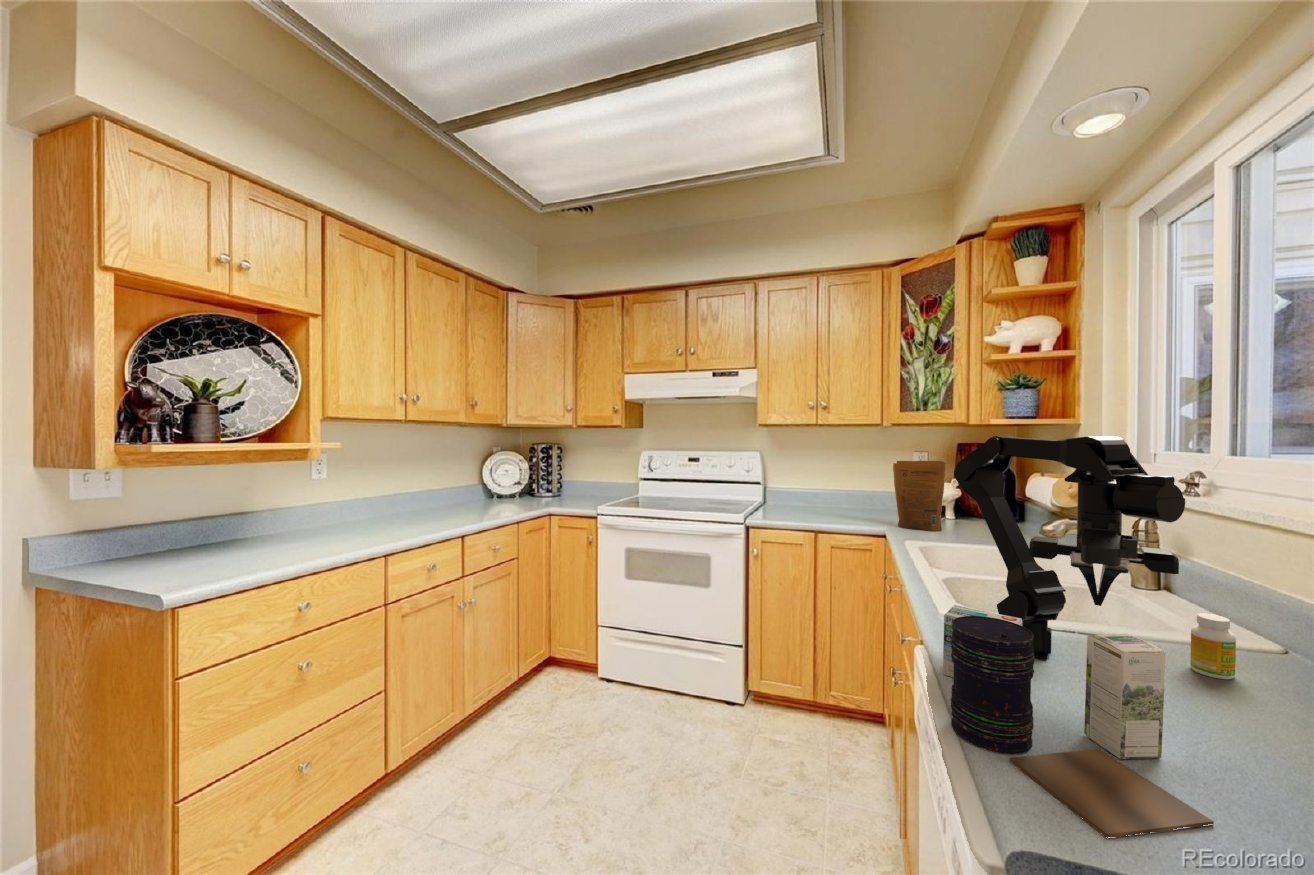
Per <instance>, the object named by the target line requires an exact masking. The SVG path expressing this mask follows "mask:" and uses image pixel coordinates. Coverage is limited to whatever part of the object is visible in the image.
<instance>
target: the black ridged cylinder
mask: <svg viewBox="0 0 1314 875" xmlns="http://www.w3.org/2000/svg"><path fill="white" fill-rule="evenodd" d="M952 629H953V631H952V639H951V648H952V653H951V657H952V662H953V663H954V677H953V684H952V686H951V692H950V693H951V696H950V710H951V717H952V718H951V723H950V725H951V729H952V731H953V732H954V733H955V734H956V735H957V736H958V737H959V738H960V739H961V740H963V741H965V742H966V743H968V744H970V745H971V746H974V747H976V748H978V749H981V750H984V751H987V752H991V753H994V754H998V755H1005V756H1006V755H1007V756H1017V755H1018V756H1019V755H1024V754H1026V753H1028V752H1029V751H1031V750H1032V748H1033V739H1032V735H1033V730H1034V723H1035V722H1034V721H1035V720H1034V706H1033V703H1032V701H1031V699H1032V693H1031V692H1032V689H1031V688H1032V679H1033V678H1034V673H1035V670H1034V665H1035V657H1034V653H1033V633H1032V632H1031V631H1030V630H1028V629H1027V628H1025V627H1023V626H1020V625H1018V624H1015V623H1012V622H1009V621H1005V620H1001V619H997V618H991V617H983V616H963V617H958V618H956V619H954V620H953V621H952Z"/></svg>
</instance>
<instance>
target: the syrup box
mask: <svg viewBox="0 0 1314 875" xmlns="http://www.w3.org/2000/svg"><path fill="white" fill-rule="evenodd" d="M1086 636H1087V637H1086V638H1087V640H1086V641H1087V642H1086V666H1085V667H1086V671H1085V698H1084V699H1085V702H1084V705H1085V706H1084V727H1083V733H1084V735H1085V736H1086V737H1087V738H1089V739H1090V740H1092V741H1093V742H1094V743H1096V744H1097V745H1098V746H1100V747H1102V748H1103V749H1104V750H1106V751H1107V752H1109V753H1111V754H1112V755H1113V756H1115V757H1116V758H1117V759H1119V760H1135V759H1136V760H1139V759H1144V760H1145V759H1161V758H1162V753H1163V752H1162V751H1163V732H1164V731H1163V725H1164V704H1165V701H1164V700H1165V682H1166V681H1165V680H1166V679H1165V677H1166V676H1165V675H1166V656H1167V653H1166V652H1165V650H1163V649H1161V648H1160V647H1158V646H1156V645H1154V644H1152V643H1150V642H1148V641H1147V640H1144V639H1142V638H1139V637H1137V636H1134V635H1132V634H1128V633H1110V634H1109V633H1108V634H1107V633H1106V634H1105V633H1103V634H1088V635H1086Z"/></svg>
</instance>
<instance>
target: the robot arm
mask: <svg viewBox="0 0 1314 875" xmlns="http://www.w3.org/2000/svg"><path fill="white" fill-rule="evenodd" d="M1014 457H1015V458H1024V459H1025V458H1026V459H1036V460H1042V461H1043V460H1044V461H1051V462H1052V461H1054V462H1057V463H1060V464H1062V465H1064V466H1066V467H1068V468H1073V469H1074V470H1073V472H1072V473H1070V474H1069V475H1067V476H1066V477H1064V480H1063V481H1064V482H1066V483H1076V484H1077V508H1076V509H1077V511H1076V516H1077V517H1076V545H1074V544H1065V543H1059V538H1058V537H1057V538H1056V537H1048V536H1046V537H1045V536H1037V535H1035V536H1033V537H1031V538H1030V541H1029V545H1028V543H1027V541H1026V538H1025V537H1024V534H1023V533H1022V531H1021V527H1020V526H1019V525H1018V523H1017V520H1016V518H1015V516H1014V514H1013V511H1012V510H1011V508H1010V506H1009V504H1008V502H1007V500H1006V498H1005V495H1004V492H1005V484H1006V480H1005V476H1004V473H1006V471H1007V470H1009V468H1010V467H1011V465H1012V462H1013V458H1014ZM953 474H954V475H953V476H954V478H955V481H956V482H957V484H958V485H959V487H960V488H961V490H962V491H963V492H964V494H966V495H967V496H968V497H969V498H971V499H972V500H974V502H976V504H977V505H978V507H979V510H980V512H981V514H982V516H983V519H984V521H985V523H986V525H987V527H988V529H989V532H990V534H991V536H992V539H993V542H994V543H995V545H996V547H997V550H998V551H999V554H1000V557H1001V558H1002V560H1003V562H1004V565H1005V566H1006V567H1005V568H1006V569H1007V575H1006V582H1005V587H1006V591H1007V594H1008V595H1007V596H1006V597H1005V598H1004V599H1002V600H1001V601H999V602H998V603H997V604H996V609H997V612H998V613H997V614H1001V615H1006V616H1011V617H1016V618H1021V619H1022V626H1023V627H1025V628H1027V629H1028V630H1030V631H1031V632H1032V633H1033V653H1034V658H1037V659H1040V660H1046V661H1047V660H1048V659H1049V657H1048V656H1049V655H1051V654H1052V638H1053V637H1052V631H1053V630H1052V628H1051V627H1049V621H1056V620H1057V619H1058V616H1059V615H1060V613H1061V612H1062V611H1063V609H1064V607H1065V604H1066V603H1067V601H1066V596H1065V593H1066V589H1065V588H1064V587H1063V585H1062V584H1061V582H1060V580H1059V577H1058V575H1057V573H1056V571H1055V570H1054V569H1046V570H1045V569H1044V568H1043V567H1041V566H1040V565H1039V564H1038V562H1037V561H1036V560H1035V558H1036V559H1044V560H1053V559H1055V558H1056V557H1057V556H1058V555H1059V556H1069V558H1070V567H1073V568H1078V570H1079V571H1080V573H1081V575H1082V576H1083V578H1084V580H1085V582H1086V584H1087V587H1088V590H1089V593H1090V596H1091V598H1092V601H1093V603H1094V606H1099V607H1102V605H1103V602H1104V600H1105V598H1106V597H1107V594H1108V592H1109V590H1110V588H1111V586H1112V584H1113V583H1114V581H1115V579H1116V578H1117V577H1118V576H1119V575H1120V574H1129V572H1130V570H1129V567H1128V566H1129V565H1130V564H1138V565H1144V567H1145V568H1147V569H1148V570H1149V571H1150V572H1151V573H1152V572H1153V573H1162V574H1170V575H1179V574H1180V573H1179V572H1180V568H1179V567H1180V563H1179V562H1180V561H1179V558H1178V557H1177V555H1176V554H1175V553H1174V552H1173V551H1172V550H1171V549H1168V548H1167V549H1165V548H1155V547H1146V546H1141V547H1140V551H1139V550H1138V545H1139V543H1138V542H1139V541H1138V536H1137V535H1130V534H1129V535H1127V534H1123V533H1122V530H1123V529H1122V526H1123V515H1124V516H1126V517H1131V518H1138V519H1146V520H1151V521H1159V522H1162V523H1163V522H1165V523H1169V524H1170V523H1174V522H1176V521H1178V520H1179V519H1180V517H1182V515H1183V513H1184V511H1185V507H1186V498H1185V497H1184V495H1183V492H1182V491H1181V489H1180V487H1178V486H1177V484H1175V477H1174V476H1171V475H1149V473H1147V472H1146V470H1145V468H1144V467H1143V466H1142V465H1141V464H1140V462H1139V461H1138V459H1137V458H1136V457H1135V456H1134V454H1133V453H1132V452H1131V448H1130V446H1129V444H1128V443H1127V442H1126V441H1125V439H1124V438H1122V437H1120V436H1116V435H1113V436H1111V435H1106V436H1100V435H1099V436H1080V437H1072V438H1065V439H1050V438H1035V437H1034V438H1033V437H1019V436H1017V437H1016V436H1014V435H993V436H992V437H989V438H988V439H987V440H986V441H985V442H984V443H983V444H982V445H981V446H979V447H977V448H976V449H974V450H972V451H971V452H969V453H968V454H966V455H965V457H964V458H962V459H961V460H959V461H958V462H957V463H956V465H955V468H954V471H953ZM1094 564H1097V565H1102V566H1101V572H1100V579H1099V585H1098V588H1097V582H1096V576H1095V569H1094Z"/></svg>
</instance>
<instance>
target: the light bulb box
mask: <svg viewBox="0 0 1314 875" xmlns="http://www.w3.org/2000/svg"><path fill="white" fill-rule="evenodd" d="M963 616H983V617H991V618H997V619H1001V620H1005V621H1009V622H1012V623H1015V624H1018V625H1020V626H1022V619H1021V618H1016V617H1011V616H1006V615H1001V614H999V613H995V612H990V611H986V610H980V609H976V608H971V607H967V606H961V605H956V604H953V606H952V607H951V608H949V610H948V611H947V612H946V613H944V615H943V652H942V654H943V655H942V656H943V657H942V662H943V663H942V675H943V676H946V677H947V676H948V677H951V678H954V663H953V662H952V657H951V653H952V648H951V639H952V631H953V629H952V621H953V620H954V619H956V618H958V617H963Z"/></svg>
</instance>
